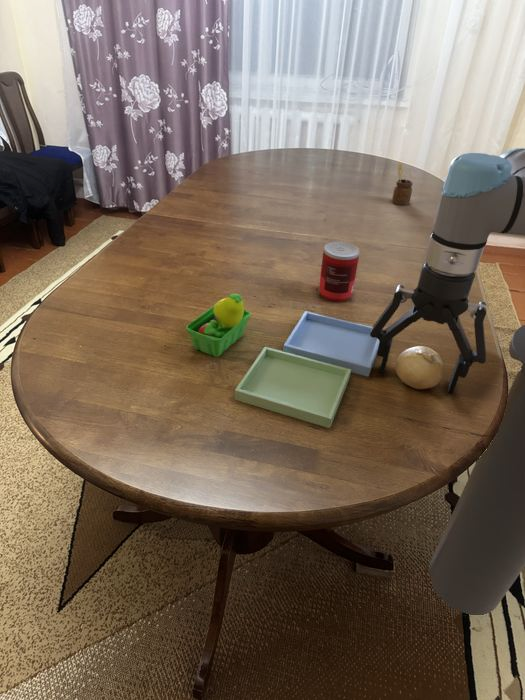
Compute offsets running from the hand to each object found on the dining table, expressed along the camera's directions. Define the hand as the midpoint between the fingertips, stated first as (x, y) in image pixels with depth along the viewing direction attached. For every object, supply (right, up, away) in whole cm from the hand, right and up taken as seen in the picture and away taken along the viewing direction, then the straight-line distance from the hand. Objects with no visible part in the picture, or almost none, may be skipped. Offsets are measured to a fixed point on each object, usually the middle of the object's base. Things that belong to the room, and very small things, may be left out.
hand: (415, 379), depth 82 cm
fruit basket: (-35, +6, +7) cm, 36 cm away
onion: (0, 0, 0) cm, 0 cm away
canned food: (-10, +18, +24) cm, 32 cm away
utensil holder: (+20, +55, +77) cm, 96 cm away
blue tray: (-13, +6, +8) cm, 16 cm away
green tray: (-22, -1, -3) cm, 22 cm away
